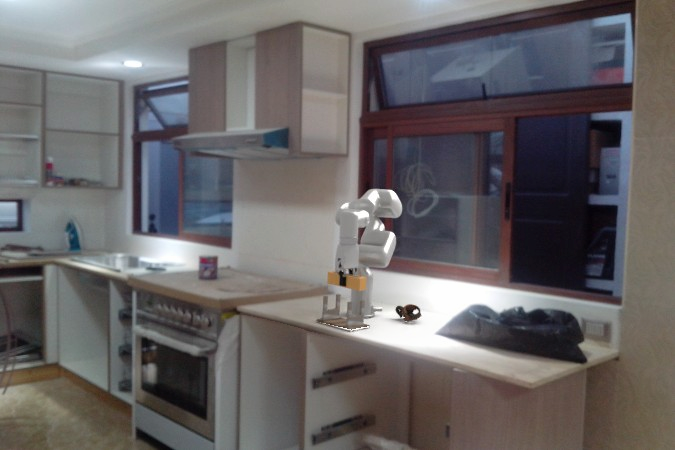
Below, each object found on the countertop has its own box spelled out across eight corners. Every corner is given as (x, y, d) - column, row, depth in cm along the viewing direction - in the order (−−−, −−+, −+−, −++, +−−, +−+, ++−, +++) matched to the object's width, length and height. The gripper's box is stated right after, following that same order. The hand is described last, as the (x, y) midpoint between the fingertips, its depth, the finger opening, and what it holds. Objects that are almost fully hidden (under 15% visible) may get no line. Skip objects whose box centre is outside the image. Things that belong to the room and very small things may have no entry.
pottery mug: (422, 320, 282) (425, 306, 277) (414, 333, 275) (417, 319, 270) (397, 310, 286) (400, 296, 281) (389, 323, 279) (391, 309, 274)
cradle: (316, 321, 268) (317, 295, 267) (334, 318, 275) (336, 292, 274) (350, 331, 253) (352, 304, 253) (369, 328, 261) (370, 301, 260)
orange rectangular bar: (327, 283, 268) (327, 271, 267) (333, 282, 270) (334, 270, 270) (359, 290, 255) (360, 278, 255) (366, 289, 258) (366, 277, 258)
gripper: (355, 238, 270) (353, 281, 271) (327, 241, 257) (325, 286, 259) (368, 240, 264) (366, 284, 266) (341, 243, 252) (339, 289, 254)
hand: (346, 284), depth 263 cm, fingers closed on orange rectangular bar, 4 cm apart
